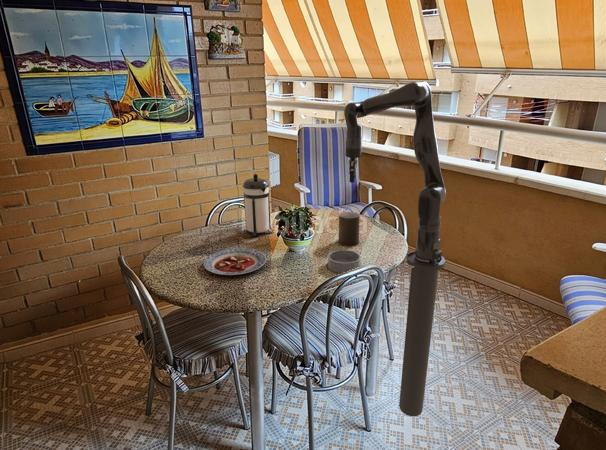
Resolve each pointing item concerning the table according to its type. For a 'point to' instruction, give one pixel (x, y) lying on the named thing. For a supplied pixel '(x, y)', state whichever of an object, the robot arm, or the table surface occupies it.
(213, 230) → the table surface
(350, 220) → the pillar candle
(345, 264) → the pan
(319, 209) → the table surface
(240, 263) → the ceramic plate
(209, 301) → the table surface
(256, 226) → the coffee press
